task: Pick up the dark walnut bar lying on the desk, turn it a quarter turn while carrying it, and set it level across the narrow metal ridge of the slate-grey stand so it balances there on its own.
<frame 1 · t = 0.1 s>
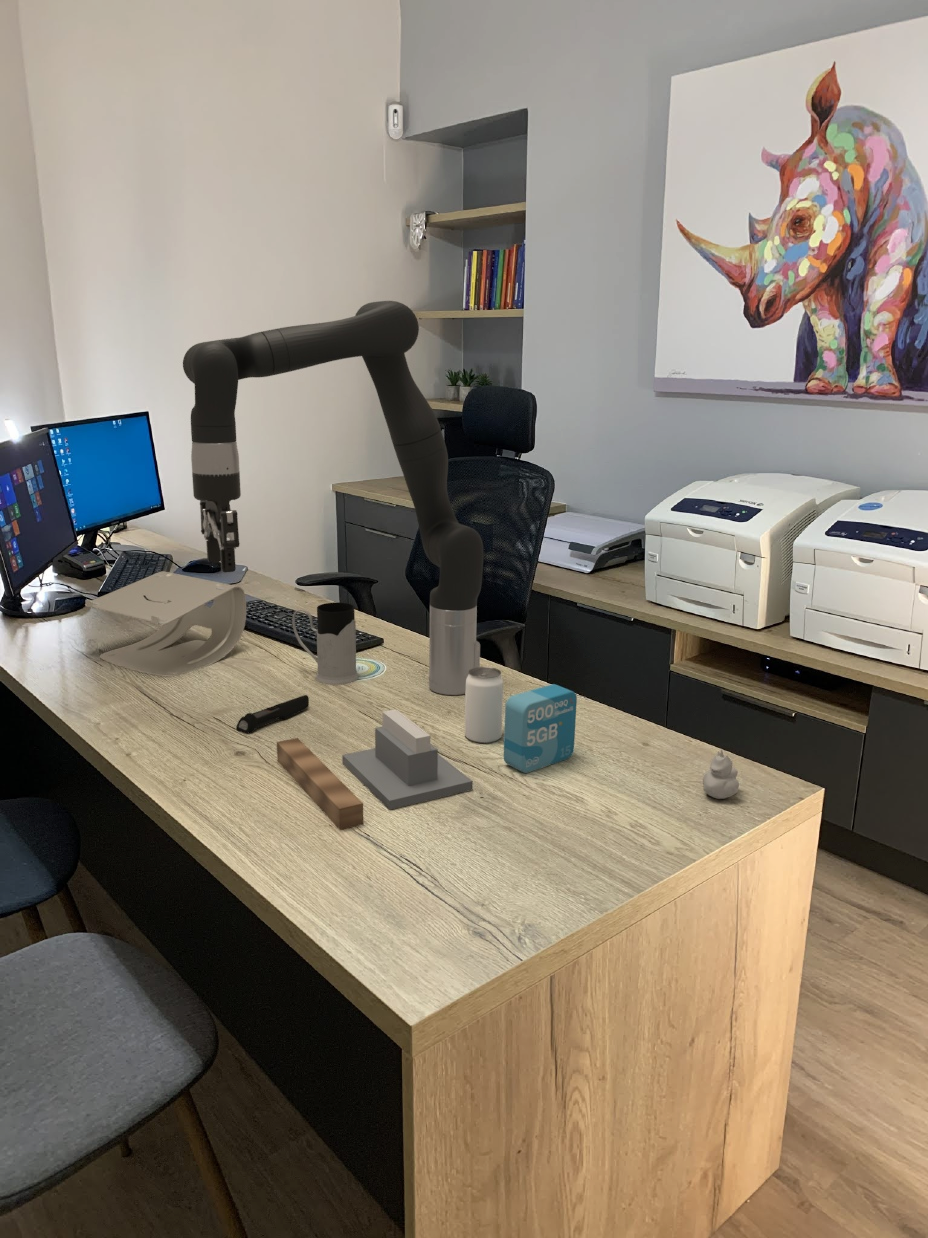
hand: (221, 566, 155), 29 cm above the table, tool pointing down, fingers open, 8 cm apart
portable electronic device stand: (170, 655, 201), on the table
grey black mug: (325, 676, 190), on the table
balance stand: (405, 776, 145), on the table
can: (483, 737, 161), on the table
electric trimmer: (273, 722, 167), on the table
data package: (538, 762, 152), on the table
rubber duck: (719, 796, 141), on the table
walnut bar: (317, 792, 140), on the table
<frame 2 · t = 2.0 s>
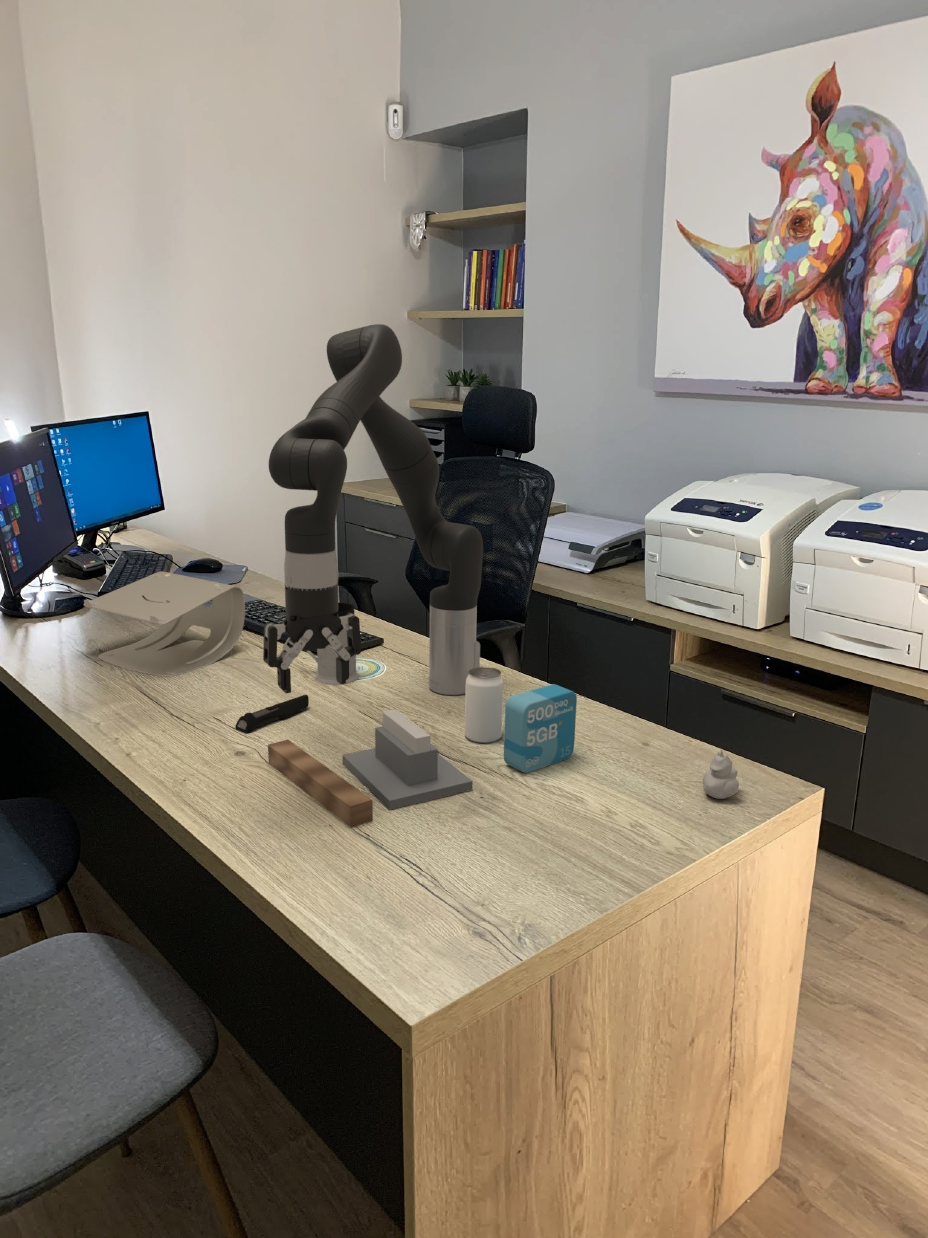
hand: (314, 687, 136), 17 cm above the table, tool pointing down, fingers open, 8 cm apart
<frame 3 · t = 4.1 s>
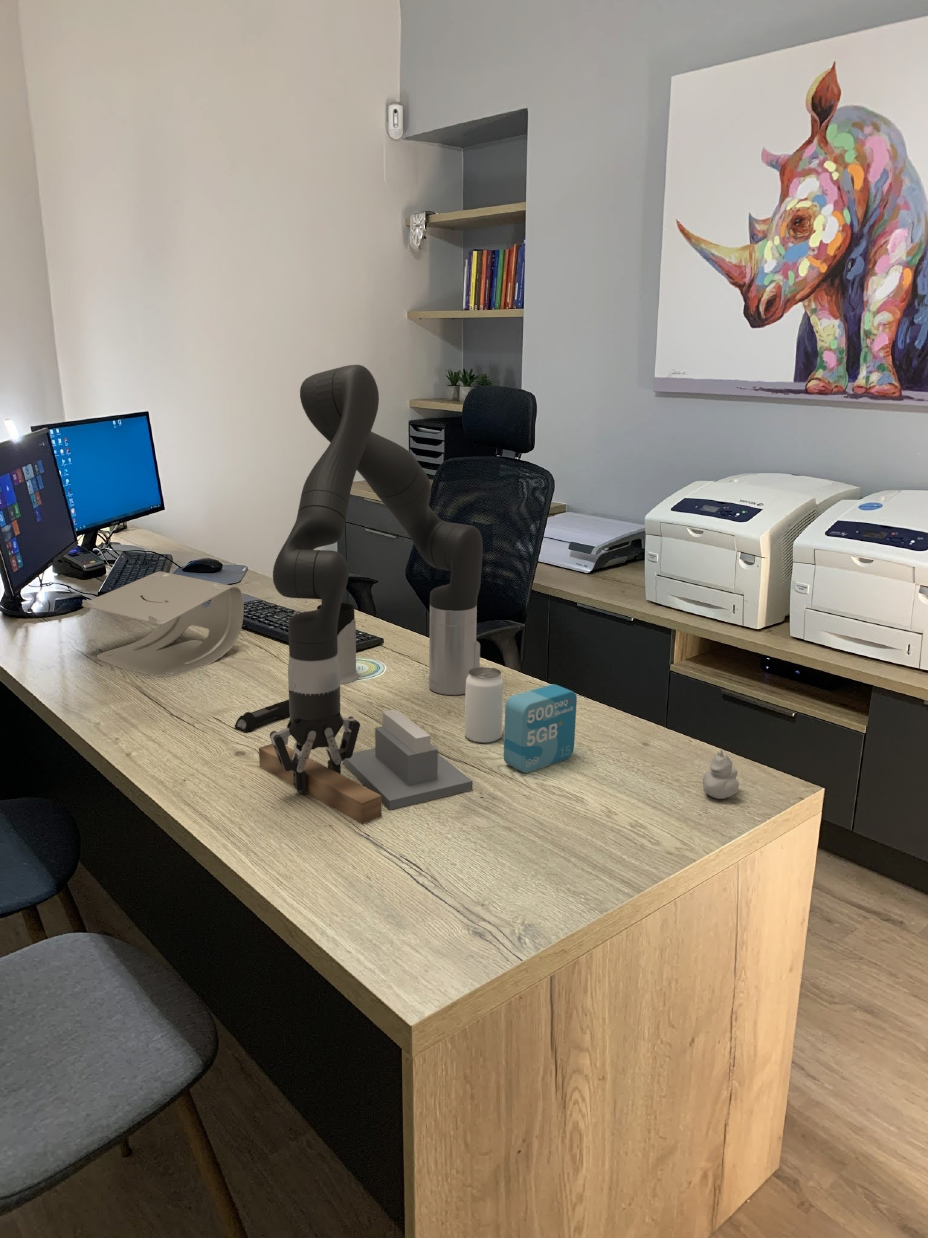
hand: (317, 787, 140), 0 cm above the table, tool pointing down, fingers closed on walnut bar, 4 cm apart
walnut bar: (317, 792, 140), on the table, touching gripper
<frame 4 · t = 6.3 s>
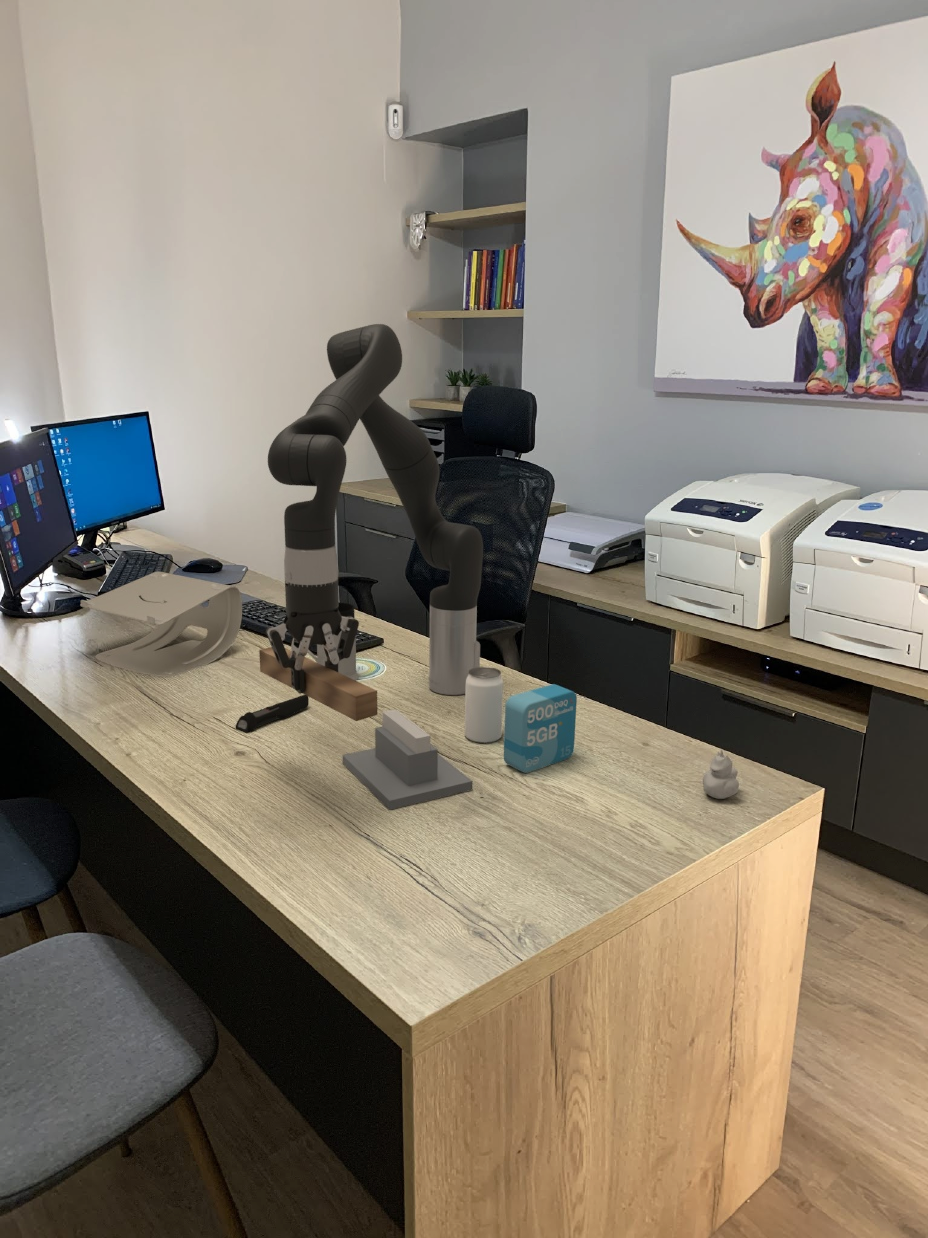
hand: (315, 688, 136), 16 cm above the table, tool pointing down, fingers closed on walnut bar, 4 cm apart
walnut bar: (315, 691, 136), point 16 cm above the table, touching gripper
when the fingers open (13 cm above the table, at t = 8.4 s): walnut bar drops 4 cm, resting on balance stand.
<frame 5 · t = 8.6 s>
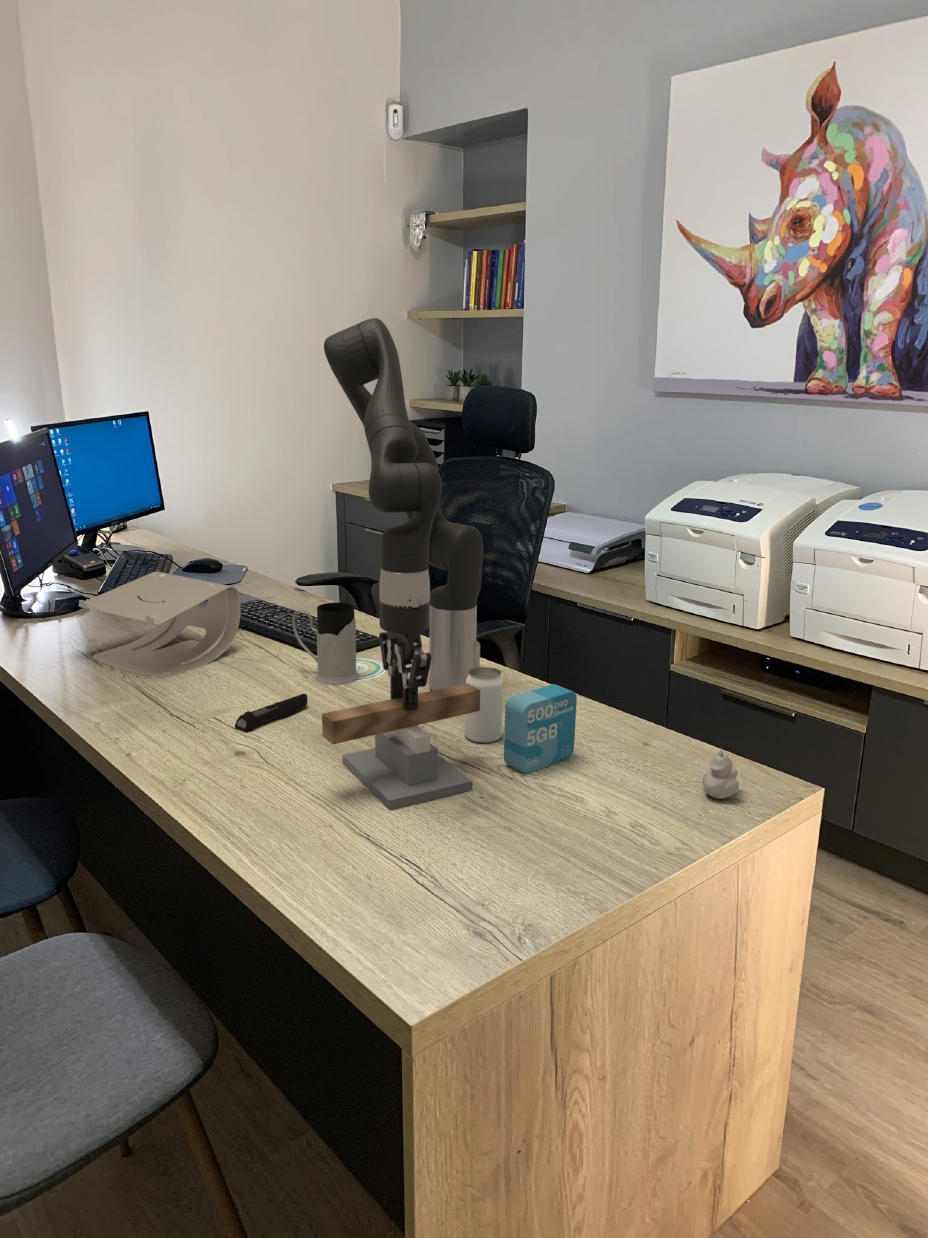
hand: (404, 704, 142), 12 cm above the table, tool pointing down, fingers open, 4 cm apart
walnut bar: (404, 723, 143), point 9 cm above the table, touching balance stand, gripper
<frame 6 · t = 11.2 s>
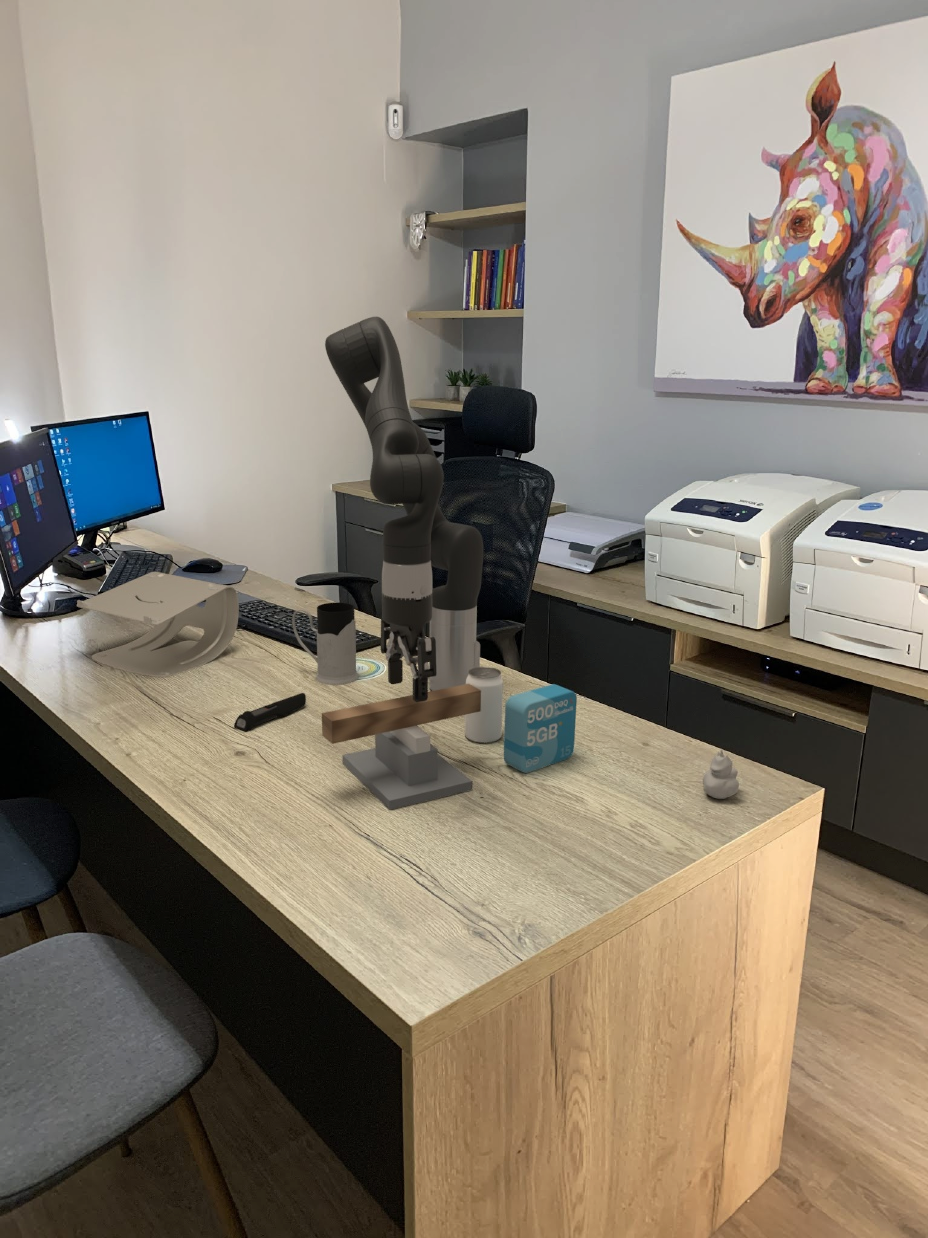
hand: (407, 691, 141), 14 cm above the table, tool pointing down, fingers open, 8 cm apart
walnut bar: (404, 723, 143), point 9 cm above the table, touching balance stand
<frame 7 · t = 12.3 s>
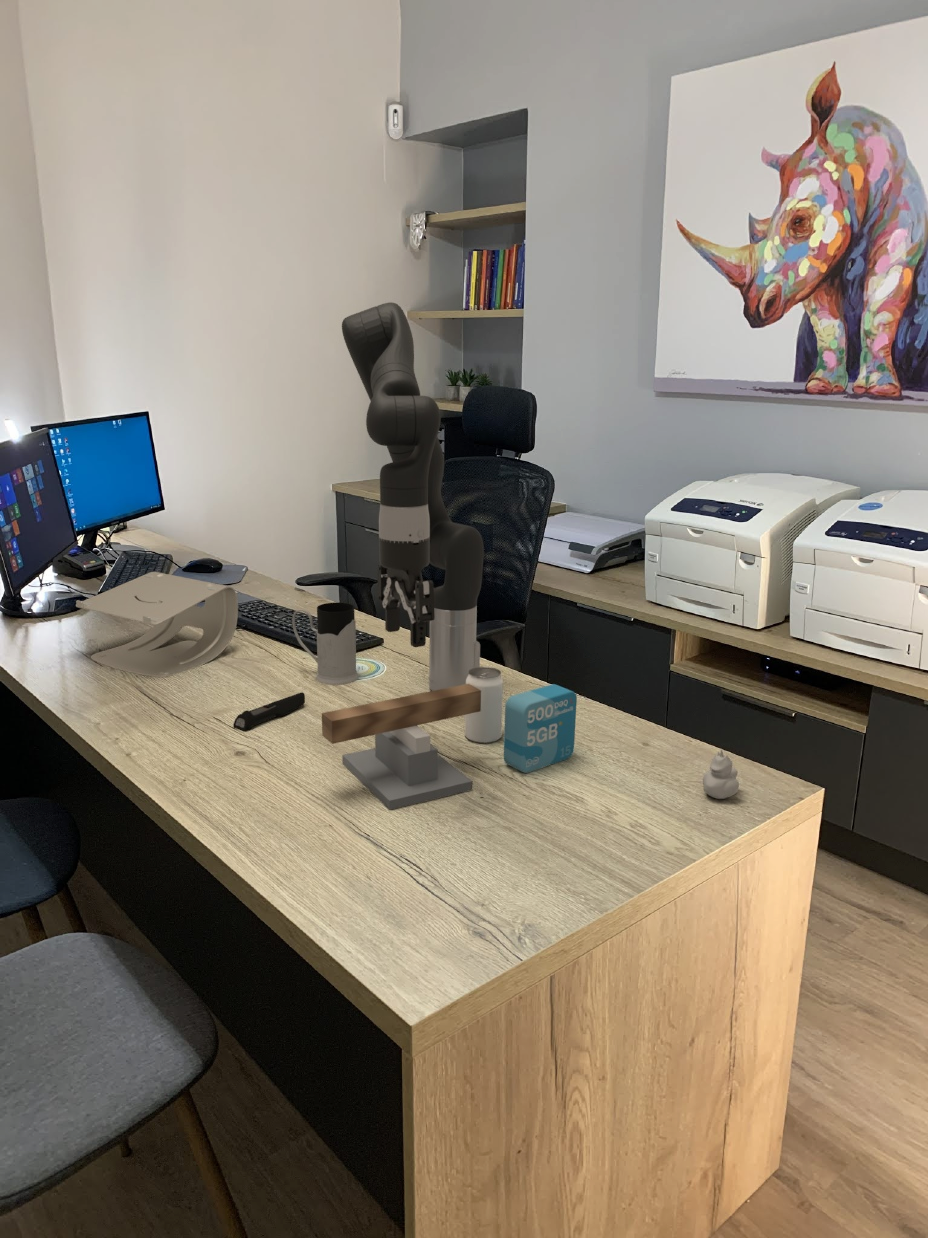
hand: (405, 638, 141), 22 cm above the table, tool pointing down, fingers open, 8 cm apart
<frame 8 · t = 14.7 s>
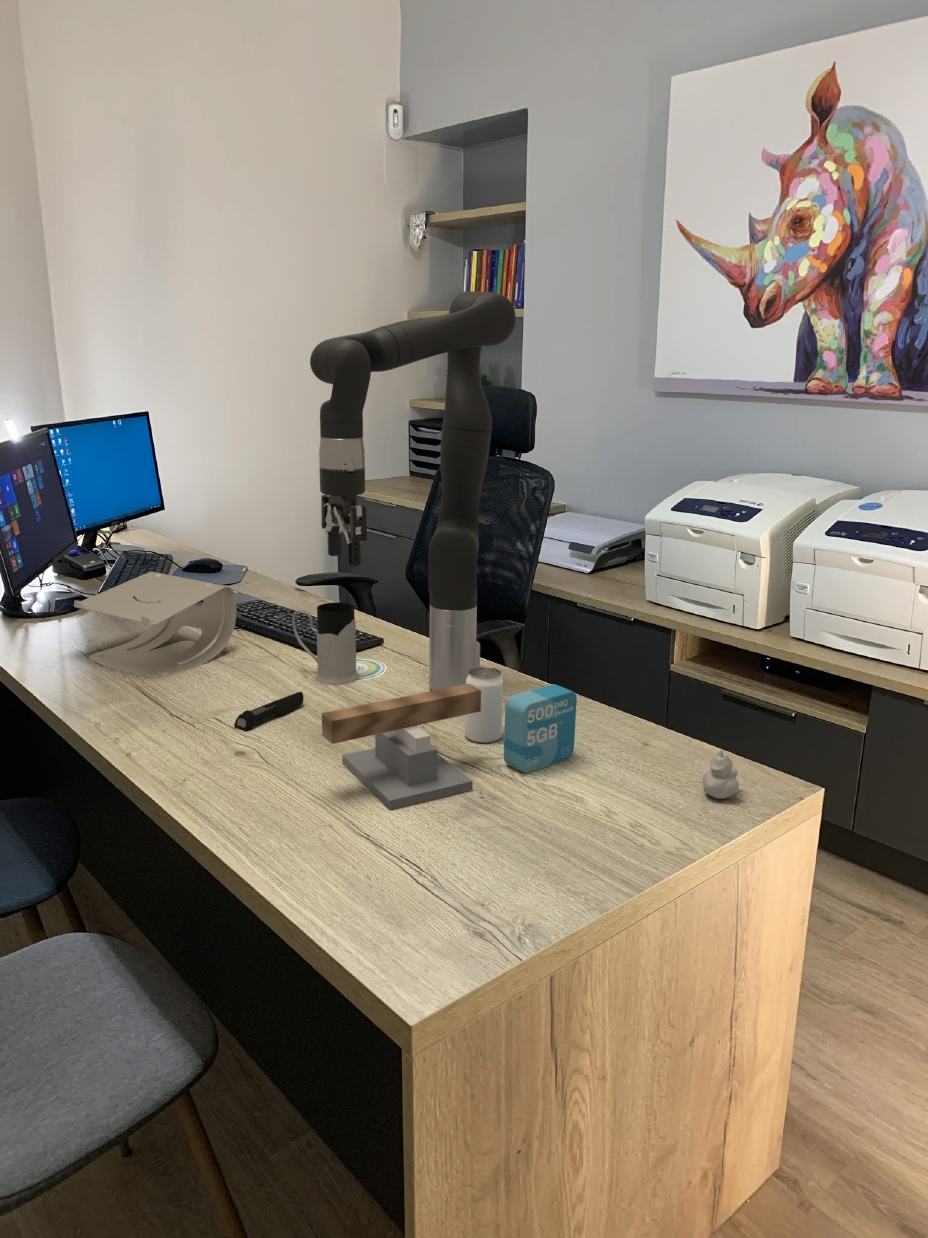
hand: (343, 560, 157), 30 cm above the table, tool pointing down, fingers open, 8 cm apart
at the end: walnut bar point 9.0 cm above the table; walnut bar tilted 0°; the gripper is holding nothing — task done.
